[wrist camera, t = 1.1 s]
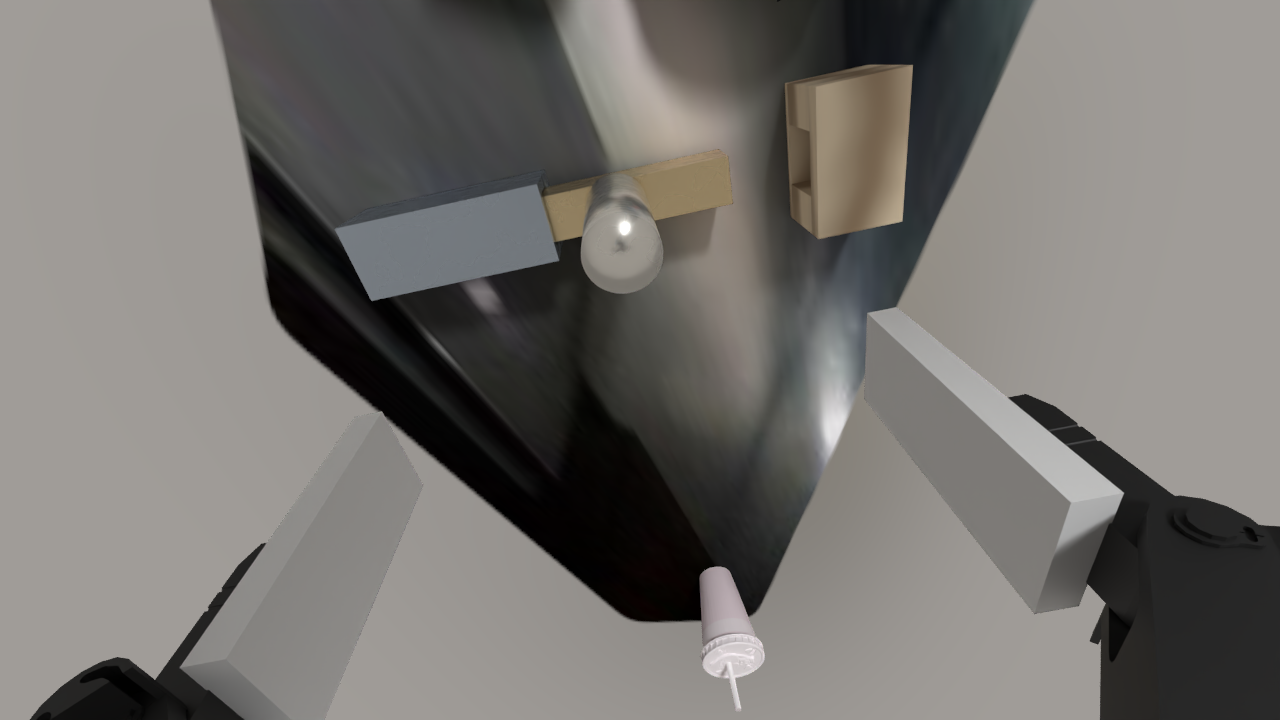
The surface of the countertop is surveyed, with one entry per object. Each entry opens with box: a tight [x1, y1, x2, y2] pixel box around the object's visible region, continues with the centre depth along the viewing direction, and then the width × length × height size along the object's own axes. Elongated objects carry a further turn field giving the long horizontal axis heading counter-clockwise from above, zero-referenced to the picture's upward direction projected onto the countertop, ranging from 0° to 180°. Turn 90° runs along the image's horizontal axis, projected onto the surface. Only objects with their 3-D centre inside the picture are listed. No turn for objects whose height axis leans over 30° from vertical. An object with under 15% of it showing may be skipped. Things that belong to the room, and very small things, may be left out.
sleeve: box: [335, 170, 563, 301], centre depth 35 cm, size 13×5×5 cm, turn 101°
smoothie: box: [699, 567, 765, 711], centre depth 53 cm, size 6×6×14 cm
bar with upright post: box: [541, 149, 733, 294], centre depth 30 cm, size 23×4×13 cm, turn 101°
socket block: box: [785, 65, 913, 239], centre depth 34 cm, size 6×9×6 cm, turn 11°
